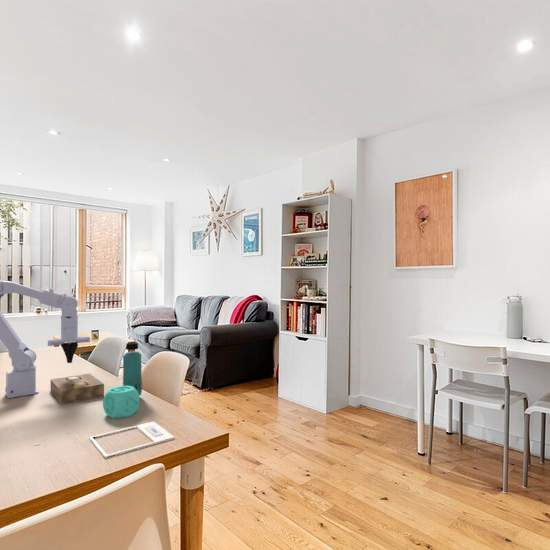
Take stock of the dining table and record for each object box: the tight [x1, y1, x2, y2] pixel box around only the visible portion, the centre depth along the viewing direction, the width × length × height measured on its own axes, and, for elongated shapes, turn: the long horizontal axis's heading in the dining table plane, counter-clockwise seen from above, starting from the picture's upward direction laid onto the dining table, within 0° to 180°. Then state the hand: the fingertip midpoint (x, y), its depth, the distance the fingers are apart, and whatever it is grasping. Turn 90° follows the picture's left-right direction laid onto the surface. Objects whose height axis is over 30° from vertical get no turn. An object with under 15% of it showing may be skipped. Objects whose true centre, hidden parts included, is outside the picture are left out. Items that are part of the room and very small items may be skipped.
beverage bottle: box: [122, 341, 143, 396], centre depth 141 cm, size 6×7×20 cm
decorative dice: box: [102, 385, 141, 419], centre depth 126 cm, size 8×8×8 cm
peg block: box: [50, 373, 105, 405], centre depth 147 cm, size 14×19×4 cm
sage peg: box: [68, 377, 79, 381], centre depth 151 cm, size 4×4×4 cm
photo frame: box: [88, 421, 176, 459], centre depth 107 cm, size 15×1×18 cm
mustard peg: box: [74, 382, 86, 387], centre depth 143 cm, size 4×4×4 cm
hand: (69, 362), depth 153 cm, fingers closed
